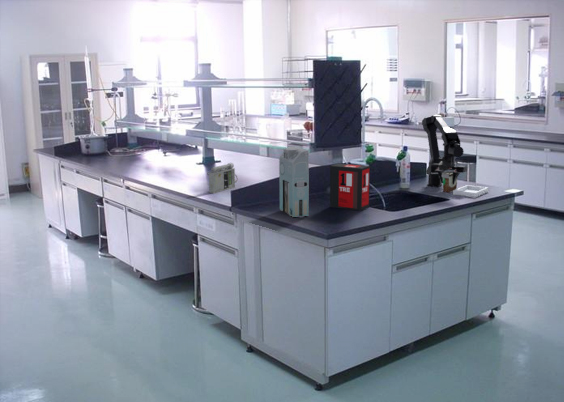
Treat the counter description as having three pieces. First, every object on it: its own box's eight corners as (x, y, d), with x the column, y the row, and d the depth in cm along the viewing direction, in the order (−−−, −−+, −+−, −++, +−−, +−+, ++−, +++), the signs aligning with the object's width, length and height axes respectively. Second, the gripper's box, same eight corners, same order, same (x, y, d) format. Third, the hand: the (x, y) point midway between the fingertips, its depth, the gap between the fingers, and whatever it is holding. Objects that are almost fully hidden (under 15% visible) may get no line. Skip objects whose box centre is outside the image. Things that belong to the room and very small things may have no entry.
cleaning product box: (329, 206, 304) (330, 165, 300) (338, 203, 312) (338, 163, 308) (361, 210, 296) (361, 168, 292) (369, 207, 303) (370, 165, 299)
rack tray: (452, 195, 329) (453, 190, 329) (466, 189, 343) (466, 185, 343) (475, 197, 322) (475, 193, 321) (488, 192, 336) (488, 187, 335)
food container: (446, 188, 347) (447, 170, 345) (457, 189, 343) (458, 171, 341) (436, 191, 338) (437, 173, 336) (447, 193, 334) (448, 174, 332)
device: (279, 210, 298) (279, 147, 291) (294, 209, 300) (294, 146, 294) (292, 218, 283) (292, 151, 276) (308, 216, 285) (308, 150, 279)
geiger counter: (214, 167, 335) (241, 161, 355) (204, 166, 338) (232, 160, 359) (215, 193, 338) (242, 186, 358) (205, 192, 341) (232, 184, 362)
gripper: (426, 155, 336) (425, 184, 339) (459, 158, 324) (458, 187, 328) (435, 152, 344) (434, 181, 347) (468, 155, 333) (466, 184, 336)
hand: (447, 183), depth 339 cm, fingers closed on food container, 6 cm apart
